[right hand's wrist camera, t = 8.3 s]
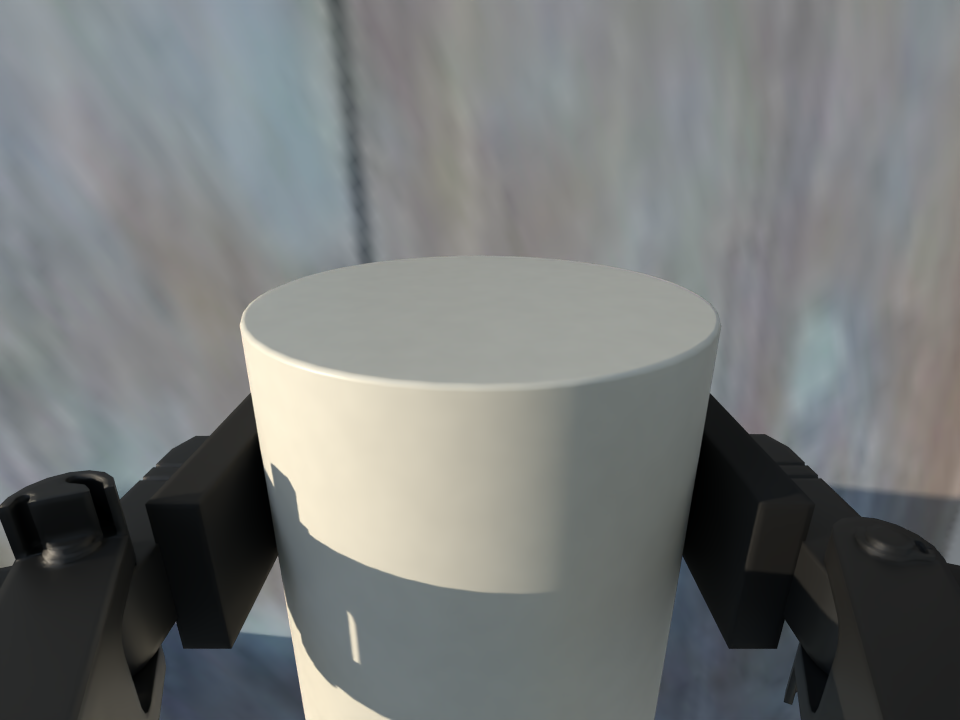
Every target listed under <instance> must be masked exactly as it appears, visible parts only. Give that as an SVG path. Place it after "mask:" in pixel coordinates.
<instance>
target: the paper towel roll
mask: <svg viewBox="0 0 960 720" xmlns="http://www.w3.org/2000/svg"><path fill="white" fill-rule="evenodd" d="M240 329H241V335H242V341H243V347H244V353H245V359H246V365H247V371H248V377H249V383H250V389H251V395H252V401H253V407H254V413H255V419H256V425H257V431H258V437H259V443H260V449H261V455H262V461H263V467H264V473H265V479H266V485H267V491H268V497H269V503H270V509H271V515H272V521H273V527H274V533H275V539H276V545H277V551H278V557H279V563H280V569H281V575H282V581H283V587H284V593H285V599H286V605H287V611H288V617H289V623H290V629H291V635H292V641H293V647H294V653H295V659H296V665H297V671H298V677H299V683H300V689H301V695H302V701H303V707H304V713H305V719H306V720H654V719H655V713H656V707H657V701H658V695H659V689H660V683H661V677H662V672H663V666H664V660H665V654H666V648H667V642H668V636H669V630H670V625H671V619H672V613H673V607H674V601H675V595H676V589H677V583H678V577H679V572H680V566H681V560H682V554H683V548H684V542H685V536H686V530H687V524H688V519H689V513H690V507H691V501H692V495H693V489H694V483H695V477H696V471H697V466H698V460H699V454H700V448H701V442H702V436H703V430H704V424H705V419H706V413H707V407H708V401H709V395H710V389H711V383H712V377H713V371H714V366H715V360H716V354H717V348H718V342H719V336H720V330H721V323H720V319H719V316H718V313H717V311H716V310H715V309H714V307H713V306H712V305H711V304H710V303H709V302H708V301H706V300H705V299H704V298H702V297H701V296H699V295H697V294H696V293H694V292H692V291H690V290H688V289H686V288H684V287H681V286H679V285H677V284H674V283H672V282H669V281H666V280H663V279H660V278H657V277H654V276H650V275H646V274H643V273H639V272H634V271H630V270H626V269H621V268H616V267H610V266H605V265H598V264H592V263H585V262H577V261H568V260H558V259H547V258H533V257H513V256H446V257H426V258H412V259H401V260H391V261H382V262H375V263H368V264H361V265H355V266H349V267H344V268H338V269H334V270H329V271H325V272H321V273H317V274H313V275H310V276H306V277H303V278H300V279H297V280H294V281H291V282H288V283H286V284H283V285H281V286H279V287H276V288H274V289H272V290H270V291H268V292H266V293H264V294H263V295H261V296H259V297H258V298H257V299H255V300H254V301H253V302H252V303H250V304H249V306H248V307H247V308H246V310H245V311H244V312H243V315H242V319H241V323H240Z"/></svg>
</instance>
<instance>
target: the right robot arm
mask: <svg viewBox="0 0 960 720" xmlns="http://www.w3.org/2000/svg"><path fill="white" fill-rule="evenodd" d="M0 520H1V523H2V525H3V528H4V531H5V533H6V536H7V538H8V541H9V543H10V546H11V549H12V551H13V554H14V556H15V559H16V560H15V562H14V564H13V566H9V567H4V568H0V720H159V717H160V710H161V702H162V694H163V686H164V679H165V671H166V664H165V657H164V653H163V649H162V646H161V644H162V642H163V641H164V639H165V637H166V636H167V634H168V633H169V631H170V630H171V628H172V627H173V625H174V624H175V622H176V623H177V626H178V630H179V634H180V637H181V641H182V645H183V649H231V648H232V646H233V644H234V642H235V640H236V638H237V636H238V634H239V632H240V630H241V628H242V626H243V624H244V622H245V620H246V618H247V616H248V614H249V612H250V610H251V608H252V606H253V604H254V602H255V600H256V598H257V596H258V594H259V592H260V590H261V588H262V586H263V584H264V582H265V580H266V578H267V576H268V574H269V572H270V570H271V568H272V566H273V564H274V562H275V560H276V558H277V556H278V551H277V545H276V539H275V533H274V527H273V521H272V515H271V509H270V503H269V497H268V491H267V485H266V479H265V473H264V467H263V461H262V455H261V449H260V443H259V437H258V431H257V425H256V419H255V413H254V407H253V401H252V395H251V393H250V394H249V395H248V396H247V397H246V398H245V399H244V400H243V401H242V403H241V404H240V405H239V406H238V407H237V408H236V409H235V410H234V411H233V412H232V413H231V414H230V415H229V416H228V417H227V418H226V419H225V420H224V421H223V423H222V424H221V425H220V426H219V427H218V428H217V429H216V430H215V431H214V432H213V433H212V434H211V435H210V436H195V437H193V438H191V439H189V440H188V441H186V442H184V443H182V444H180V445H179V446H177V447H175V448H173V449H172V450H171V451H170V452H169V453H168V454H166V455H165V456H164V457H163V458H162V459H161V460H160V461H159V462H158V463H157V464H156V467H153V468H152V469H151V470H150V471H149V472H148V473H147V474H146V475H145V476H144V477H143V480H140V481H139V482H138V483H136V484H135V485H134V486H133V487H132V488H131V489H130V490H129V491H128V492H127V493H126V494H125V495H124V496H123V497H122V498H121V499H119V496H118V492H117V489H116V485H115V482H114V478H113V477H112V476H110V475H108V474H107V473H105V472H99V471H91V470H88V471H78V472H69V473H65V474H61V475H57V476H53V477H49V478H46V479H44V480H41V481H39V482H36V483H34V484H31V485H29V486H27V487H25V488H23V489H21V490H20V491H18V492H16V493H15V494H13V495H11V496H10V497H8V498H7V499H6V500H5V501H4V502H3V503H2V504H1V505H0ZM682 556H683V558H684V560H685V562H686V564H687V566H688V568H689V570H690V572H691V574H692V576H693V578H694V580H695V582H696V584H697V586H698V588H699V590H700V592H701V594H702V596H703V598H704V600H705V602H706V604H707V606H708V608H709V610H710V612H711V614H712V616H713V618H714V620H715V622H716V624H717V626H718V628H719V630H720V632H721V634H722V636H723V638H724V640H725V642H726V644H727V646H728V648H729V649H777V647H778V643H779V639H780V635H781V632H782V628H783V624H784V620H786V622H787V623H788V625H789V626H790V628H791V629H792V631H793V632H794V634H795V635H796V637H797V639H798V640H799V646H798V649H797V653H796V656H795V660H794V663H793V667H792V670H791V674H790V677H789V681H788V684H787V688H786V692H785V698H784V702H785V703H788V704H791V705H792V703H793V700H794V696H795V693H796V692H798V700H799V708H800V716H801V720H960V566H959V565H954V564H949V563H946V561H945V559H944V558H943V556H942V555H941V554H940V553H939V552H938V551H937V549H936V548H935V547H934V546H933V545H931V544H930V543H929V542H927V541H926V540H924V539H923V538H921V537H920V536H919V535H917V534H915V533H913V532H911V531H909V530H907V529H904V528H902V527H900V526H898V525H896V524H892V523H889V522H886V521H882V520H879V519H875V518H867V517H861V516H860V515H859V514H858V513H857V512H856V511H855V510H854V509H853V508H852V507H850V506H849V505H848V504H847V503H846V502H845V501H844V500H843V499H842V498H841V497H840V496H839V495H838V494H837V493H836V492H835V491H834V490H833V489H832V488H831V487H830V486H829V485H828V484H827V483H825V482H824V481H823V480H822V479H821V478H818V475H817V474H816V473H815V472H814V471H813V470H812V469H811V468H810V467H809V466H805V462H804V461H803V460H802V459H800V458H799V457H798V456H797V455H796V454H795V453H794V452H793V451H792V450H791V449H790V448H789V447H787V446H786V445H784V444H782V443H780V442H778V441H776V440H775V439H773V438H771V437H769V436H767V435H765V434H748V433H747V432H746V431H745V430H744V428H743V427H742V426H741V425H740V424H739V423H738V422H737V421H736V420H735V419H734V418H733V417H732V416H731V415H730V414H729V413H728V412H727V411H726V410H725V408H724V407H723V406H722V405H721V404H720V403H719V402H718V401H717V400H716V399H715V398H714V397H713V396H712V395H711V394H710V395H709V401H708V407H707V413H706V419H705V424H704V430H703V436H702V442H701V448H700V454H699V460H698V466H697V471H696V477H695V483H694V489H693V495H692V501H691V507H690V513H689V519H688V524H687V530H686V536H685V542H684V548H683V554H682Z"/></svg>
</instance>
